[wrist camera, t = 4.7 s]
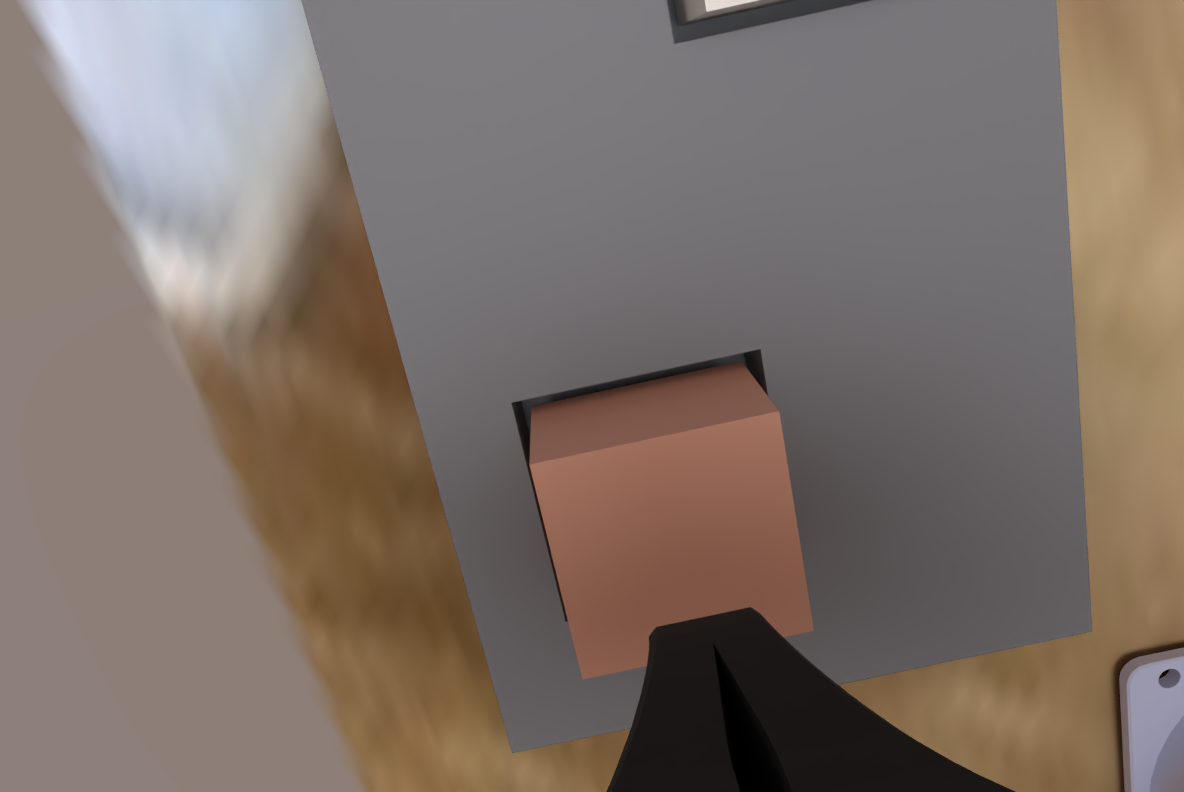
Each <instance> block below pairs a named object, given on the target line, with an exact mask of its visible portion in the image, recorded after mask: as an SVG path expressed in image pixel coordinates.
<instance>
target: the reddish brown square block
mask: <svg viewBox="0 0 1184 792" xmlns="http://www.w3.org/2000/svg"><path fill="white" fill-rule="evenodd" d="M529 465H530V469H531V473H532V477H533V481H534V485H535V489H536V493H537V497H538V501H539V505H540V510H541V514H542V518H543V522H544V526H545V530H546V534H547V538H548V542H549V546H550V550H551V554H552V558H553V562H554V566H555V570H556V574H557V578H558V583H559V587H560V591H561V595H562V599H563V603H564V607H565V611H566V615H567V619H568V623H569V627H570V631H571V635H572V639H573V643H574V647H575V651H576V656H577V660H578V664H579V668H580V672H581V676H582V680H583V679H587V678H592V677H597V676H602V675H606V674H611V673H616V672H621V671H625V670H630V669H635V668H640V667H644V666H647V662H648V653H649V636H650V634H651V633H652V632H653V630H654V629H655V628H656V627H658V626H663V625H668V624H673V623H677V622H682V621H687V620H692V619H696V618H701V617H706V616H710V615H715V614H720V613H725V612H729V611H734V610H739V609H744V608H748V607H751V608H753V609H754V610H756V611H757V612H759V613H760V614H761V615H762V616H763V617H764V618H765V619H766V620H767V621H768V622H769V623H770V624H771V625H772V626H773V627H774V628H775V629H776V630H777V631H778V632H779V633H780V634H781V635H782V636H783V637H787V636H792V635H796V634H801V633H806V632H811V631H814V628H813V622H812V615H811V609H810V603H809V596H808V590H807V584H806V577H805V571H804V565H803V558H802V552H801V546H800V539H799V533H798V527H797V520H796V514H795V508H794V501H793V495H792V489H791V482H790V476H789V470H788V464H787V457H786V451H785V445H784V438H783V432H782V426H781V419H780V413H779V410H778V409H777V408H776V406H775V405H774V404H773V402H772V401H771V400H770V398H769V397H768V396H767V394H766V393H765V392H764V390H763V389H762V388H761V386H760V385H759V384H758V382H757V381H756V380H755V378H754V377H753V376H752V374H751V373H750V372H749V370H748V369H747V368H746V366H745V365H744V364H743V362H742V361H739V362H734V363H730V364H725V365H720V366H716V367H711V368H706V369H702V370H697V371H692V372H688V373H683V374H679V375H674V376H669V377H665V378H660V379H655V380H651V381H646V382H641V383H637V384H632V385H627V386H623V387H618V388H613V389H609V390H604V391H600V392H595V393H590V394H586V395H581V396H576V397H572V398H567V399H562V400H558V401H553V402H548V403H544V404H539V405H534V406H531V435H530V463H529Z"/></svg>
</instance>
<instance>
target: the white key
mask: <svg viewBox="0 0 1184 792" xmlns="http://www.w3.org/2000/svg"><path fill="white" fill-rule="evenodd" d="M791 1H795V0H674V2H675V7H676V13H677V19H678V25H679V26H682V25H686V24H691V23H695V22H700V21H704V20H709V19H713V18H718V17H723V16H727V15H732V14H736V13H741V12H745V11H750V10H754V9H759V8H763V7H768V6H772V5H777V4H781V3H786V2H791Z"/></svg>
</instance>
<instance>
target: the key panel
mask: <svg viewBox="0 0 1184 792" xmlns="http://www.w3.org/2000/svg"><path fill="white" fill-rule="evenodd" d="M301 1H302V4H303V8H304V11H305V15H306V18H307V22H308V26H309V29H310V33H311V36H312V40H313V43H314V47H315V51H316V54H317V58H318V61H319V65H320V68H321V72H322V76H323V79H324V83H325V86H326V90H327V93H328V97H329V101H330V104H331V108H332V111H333V115H334V118H335V122H336V126H337V129H338V133H339V136H340V140H341V143H342V147H343V151H344V154H345V158H346V161H347V165H348V168H349V172H350V176H351V179H352V183H353V186H354V190H355V193H356V197H357V200H358V204H359V208H360V211H361V215H362V218H363V222H364V225H365V229H366V233H367V236H368V240H369V243H370V247H371V250H372V254H373V258H374V261H375V265H376V268H377V272H378V275H379V279H380V283H381V286H382V290H383V293H384V297H385V300H386V304H387V308H388V311H389V315H390V318H391V322H392V325H393V329H394V333H395V336H396V340H397V343H398V347H399V350H400V354H401V358H402V361H403V365H404V368H405V372H406V375H407V379H408V383H409V386H410V390H411V393H412V397H413V400H414V404H415V408H416V411H417V415H418V418H419V422H420V425H421V429H422V433H423V436H424V440H425V443H426V447H427V450H428V454H429V458H430V461H431V465H432V468H433V472H434V475H435V479H436V483H437V486H438V490H439V493H440V497H441V500H442V504H443V508H444V511H445V515H446V518H447V522H448V525H449V529H450V533H451V536H452V540H453V543H454V547H455V550H456V554H457V558H458V561H459V565H460V568H461V572H462V575H463V579H464V583H465V586H466V590H467V593H468V597H469V600H470V604H471V608H472V611H473V615H474V618H475V622H476V625H477V629H478V633H479V636H480V640H481V643H482V647H483V650H484V654H485V657H486V661H487V665H488V668H489V672H490V675H491V679H492V682H493V686H494V690H495V693H496V697H497V700H498V704H499V707H500V711H501V715H502V718H503V722H504V725H505V729H506V732H507V736H508V740H509V743H510V747H511V750H512V753H515V752H520V751H525V750H529V749H534V748H539V747H544V746H548V745H553V744H558V743H563V742H567V741H572V740H577V739H582V738H587V737H591V736H596V735H601V734H606V733H610V732H615V731H620V730H625V729H629V728H631V727H632V723H633V720H634V716H635V713H636V709H637V706H638V702H639V699H640V695H641V692H642V687H643V683H644V678H645V673H646V668H647V666H644V667H640V668H635V669H630V670H625V671H621V672H616V673H611V674H606V675H602V676H597V677H592V678H587V679H583V680H582V676H581V672H580V668H579V664H578V660H577V656H576V651H575V647H574V643H573V639H572V635H571V631H570V627H569V623H568V619H567V615H566V611H565V607H564V603H563V599H562V595H561V591H560V587H559V583H558V578H557V574H556V570H555V566H554V562H553V558H552V554H551V550H550V546H549V542H548V538H547V534H546V530H545V526H544V522H543V518H542V514H541V510H540V505H539V501H538V497H537V493H536V489H535V485H534V481H533V477H532V473H531V469H530V465H529V463H530V435H531V406H534V405H539V404H544V403H548V402H553V401H558V400H562V399H567V398H572V397H576V396H581V395H586V394H590V393H595V392H600V391H604V390H609V389H613V388H618V387H623V386H627V385H632V384H637V383H641V382H646V381H651V380H655V379H660V378H665V377H669V376H674V375H679V374H683V373H688V372H692V371H697V370H702V369H706V368H711V367H716V366H720V365H725V364H730V363H734V362H739V361H742V362H743V364H744V365H745V366H746V368H747V369H748V370H749V372H750V373H751V374H752V376H753V377H754V378H755V380H756V381H757V382H758V384H759V385H760V386H761V388H762V389H763V390H764V392H765V393H766V394H767V396H768V397H769V398H770V400H771V401H772V402H773V404H774V405H775V406H776V408H777V409H778V410H779V413H780V419H781V426H782V432H783V438H784V445H785V451H786V457H787V464H788V470H789V476H790V482H791V489H792V495H793V501H794V508H795V514H796V520H797V527H798V533H799V539H800V546H801V552H802V558H803V565H804V571H805V577H806V584H807V590H808V596H809V603H810V609H811V615H812V622H813V628H814V631H811V632H806V633H801V634H796V635H792V636H787V637H784V638H785V639H786V640H787V641H788V642H789V643H790V644H791V645H792V646H793V647H794V648H795V649H796V650H798V651H799V652H800V653H801V654H802V655H803V656H804V657H805V658H806V659H808V660H809V661H810V662H811V663H812V664H813V665H814V666H816V667H817V668H818V669H819V670H820V671H822V672H823V673H824V674H825V675H826V676H828V677H829V678H830V679H831V680H833V681H834V682H835V683H836V684H838V685H839V684H844V683H849V682H854V681H858V680H863V679H868V678H873V677H878V676H882V675H887V674H892V673H897V672H901V671H906V670H911V669H916V668H920V667H925V666H930V665H935V664H940V663H944V662H949V661H954V660H959V659H963V658H968V657H973V656H978V655H983V654H987V653H992V652H997V651H1002V650H1006V649H1011V648H1016V647H1021V646H1025V645H1030V644H1035V643H1040V642H1045V641H1049V640H1054V639H1059V638H1064V637H1068V636H1073V635H1078V634H1083V633H1087V632H1092V617H1091V600H1090V582H1089V565H1088V547H1087V530H1086V513H1085V495H1084V478H1083V460H1082V443H1081V425H1080V408H1079V390H1078V373H1077V355H1076V338H1075V320H1074V303H1073V286H1072V268H1071V251H1070V233H1069V216H1068V198H1067V181H1066V163H1065V146H1064V128H1063V111H1062V93H1061V76H1060V59H1059V41H1058V24H1057V6H1056V0H795V1H791V2H786V3H781V4H777V5H772V6H768V7H763V8H759V9H754V10H750V11H745V12H741V13H736V14H732V15H727V16H723V17H718V18H713V19H709V20H704V21H700V22H695V23H691V24H686V25H682V26H679V25H678V19H677V13H676V7H675V2H674V0H301Z"/></svg>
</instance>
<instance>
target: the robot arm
mask: <svg viewBox="0 0 1184 792" xmlns="http://www.w3.org/2000/svg"><path fill="white" fill-rule="evenodd" d="M1168 669H1170V670H1169V672H1168V673H1167V674H1166V676H1164V677H1162V678H1160V679H1159V676H1160V675H1161V674H1162V673H1163V672H1164V671H1166V670H1168ZM1119 683H1120V704H1121V724H1122V745H1123V766H1124V787H1125V792H1184V647H1183V648H1179V649H1174V650H1169V651H1164V652H1160V653H1155V654H1150V655H1145V656H1140V657H1137V658H1135V659H1132V660H1130V661H1129V662H1128V663H1127V664H1125V665H1124V667H1123V669H1122V670H1121V672H1120V678H1119ZM607 792H1015V791H1013V790H1010V789H1008V788H1006V787H1004V786H1002V785H1000V784H997V783H995V782H993V781H991V780H989V779H986V778H984V777H982V776H980V775H978V774H976V773H974V772H972V771H970V770H968V769H966V768H964V767H962V766H960V765H958V764H956V763H954V762H953V761H951V760H949V759H947V758H946V757H944V756H942V755H940V754H939V753H937V752H935V751H933V750H932V749H930V748H928V747H926V746H925V745H923V744H921V743H919V742H918V741H916V740H914V739H913V738H911V737H910V736H908V735H907V734H905V733H904V732H902V731H901V730H899V729H898V728H896V727H894V726H893V725H891V724H890V723H889V722H887V721H886V720H884V719H883V718H882V717H880V716H879V715H877V714H876V713H874V712H873V711H872V710H870V709H869V708H867V707H866V706H865V705H863V704H862V703H861V702H859V701H858V700H857V699H855V698H854V697H853V696H851V695H850V694H849V693H847V692H846V691H845V690H844V689H842V688H841V687H840V686H839V685H838V684H836V683H835V682H834V681H833V680H831V679H830V678H829V677H828V676H826V675H825V674H824V673H823V672H822V671H820V670H819V669H818V668H817V667H816V666H814V665H813V664H812V663H811V662H810V661H809V660H808V659H806V658H805V657H804V656H803V655H802V654H801V653H800V652H799V651H798V650H796V649H795V648H794V647H793V646H792V645H791V644H790V643H789V642H788V641H787V640H786V639H785V638H784V637H783V636H782V635H781V634H780V633H779V632H778V631H777V630H776V629H775V628H774V627H773V626H772V625H771V624H770V623H769V622H768V621H767V620H766V619H765V618H764V617H763V616H762V615H761V614H760V613H759V612H757V611H756V610H754V609H753V608H751V607H748V608H744V609H739V610H734V611H729V612H725V613H720V614H715V615H710V616H706V617H701V618H696V619H692V620H687V621H682V622H677V623H673V624H668V625H663V626H658V627H656V628H655V629H654V630H653V632H652V633H651V634H650V636H649V653H648V662H647V668H646V673H645V678H644V683H643V687H642V692H641V695H640V699H639V702H638V706H637V709H636V713H635V716H634V720H633V723H632V727H631V730H630V733H629V736H628V739H627V741H626V744H625V747H624V749H623V752H622V754H621V757H620V760H619V762H618V765H617V768H616V770H615V773H614V776H613V778H612V780H611V783H610V785H609V787H608V790H607Z"/></svg>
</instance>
